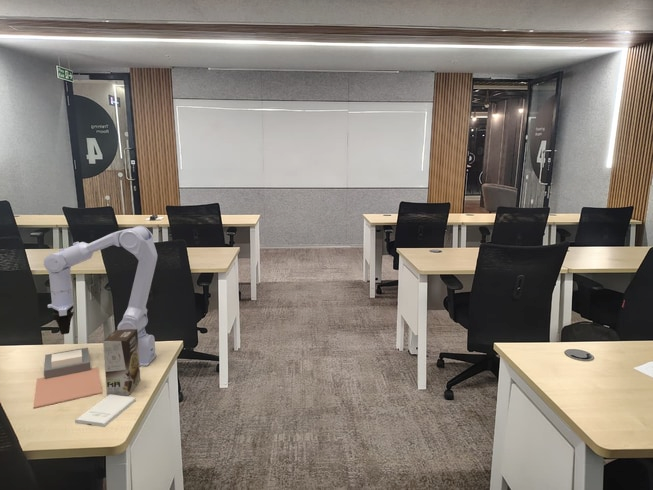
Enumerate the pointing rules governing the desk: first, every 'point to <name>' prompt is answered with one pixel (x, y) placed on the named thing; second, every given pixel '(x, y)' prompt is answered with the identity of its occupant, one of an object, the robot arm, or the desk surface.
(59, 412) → the desk surface
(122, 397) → the external hard drive
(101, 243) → the robot arm
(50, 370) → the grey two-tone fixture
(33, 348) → the desk surface
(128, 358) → the coffee box
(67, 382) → the mat
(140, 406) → the desk surface
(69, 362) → the tile
